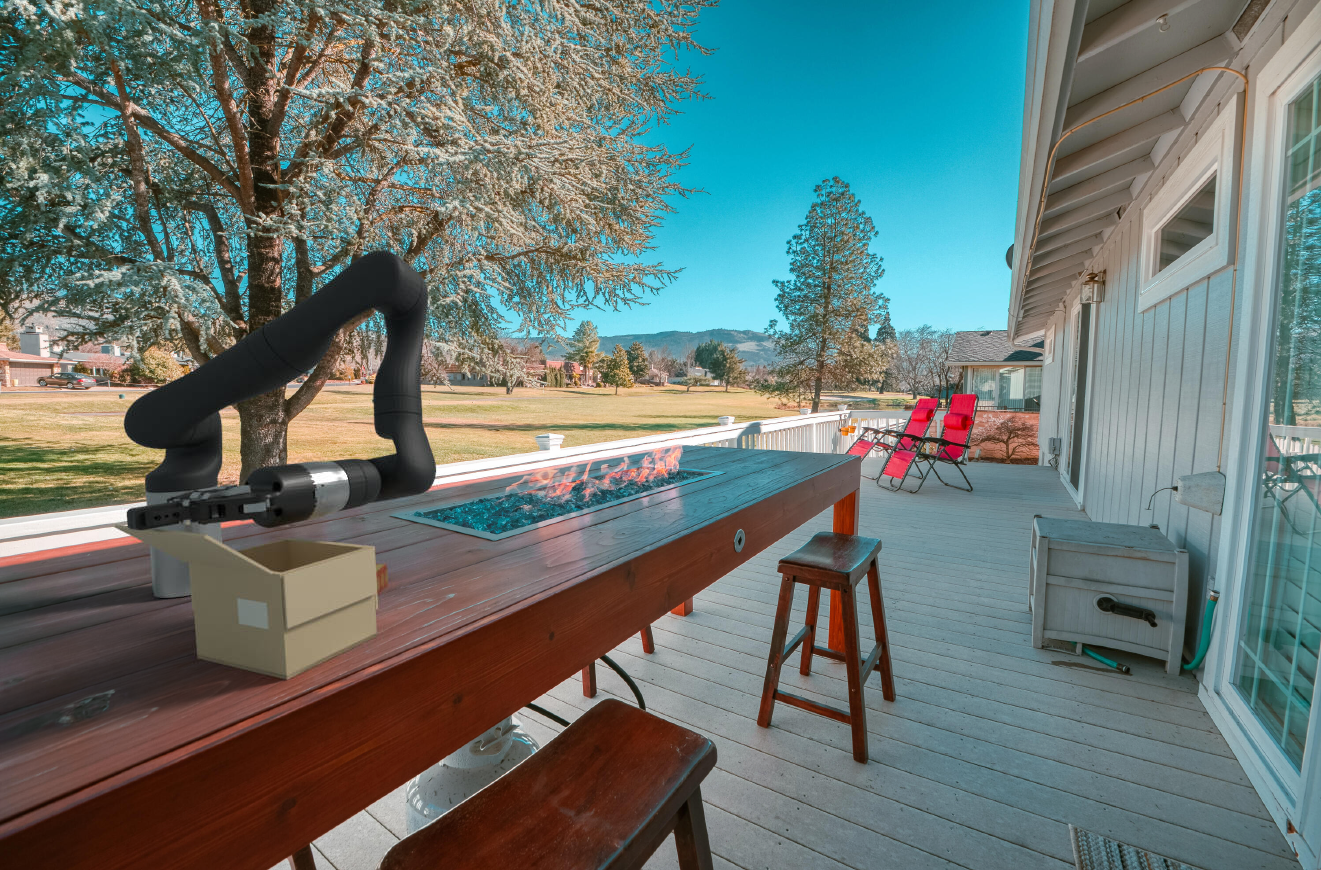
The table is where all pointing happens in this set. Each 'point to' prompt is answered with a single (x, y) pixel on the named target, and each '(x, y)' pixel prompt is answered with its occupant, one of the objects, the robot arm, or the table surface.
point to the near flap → (195, 549)
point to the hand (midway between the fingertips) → (131, 520)
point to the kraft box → (286, 606)
